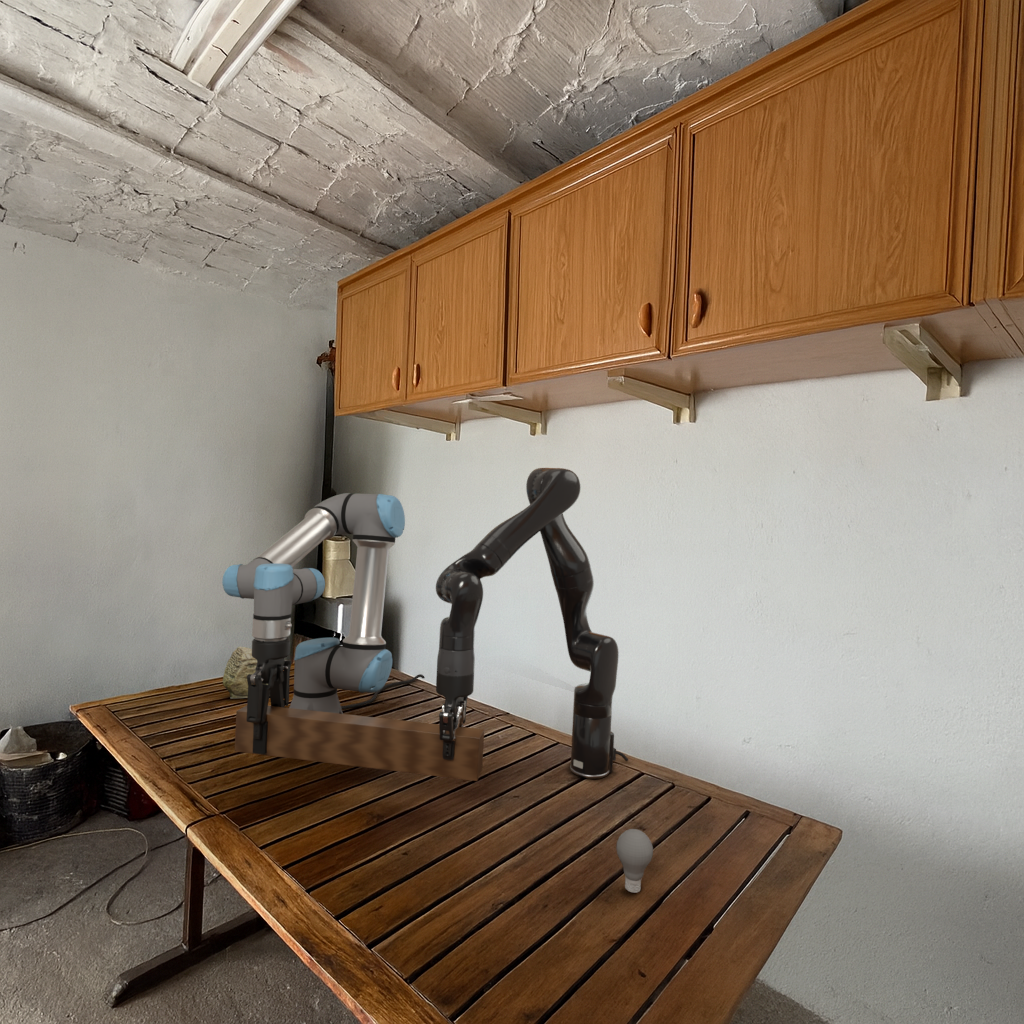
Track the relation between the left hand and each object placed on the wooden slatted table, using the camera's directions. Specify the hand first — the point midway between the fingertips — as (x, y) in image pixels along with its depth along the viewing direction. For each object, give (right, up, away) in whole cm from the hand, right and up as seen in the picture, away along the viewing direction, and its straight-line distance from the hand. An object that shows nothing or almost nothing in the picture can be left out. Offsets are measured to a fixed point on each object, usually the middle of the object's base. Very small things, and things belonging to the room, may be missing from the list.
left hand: (267, 747), depth 133 cm
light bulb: (+72, -14, -28) cm, 78 cm away
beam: (+20, -2, -3) cm, 20 cm away
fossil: (-29, -8, +65) cm, 71 cm away
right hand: (+40, +1, -6) cm, 40 cm away
